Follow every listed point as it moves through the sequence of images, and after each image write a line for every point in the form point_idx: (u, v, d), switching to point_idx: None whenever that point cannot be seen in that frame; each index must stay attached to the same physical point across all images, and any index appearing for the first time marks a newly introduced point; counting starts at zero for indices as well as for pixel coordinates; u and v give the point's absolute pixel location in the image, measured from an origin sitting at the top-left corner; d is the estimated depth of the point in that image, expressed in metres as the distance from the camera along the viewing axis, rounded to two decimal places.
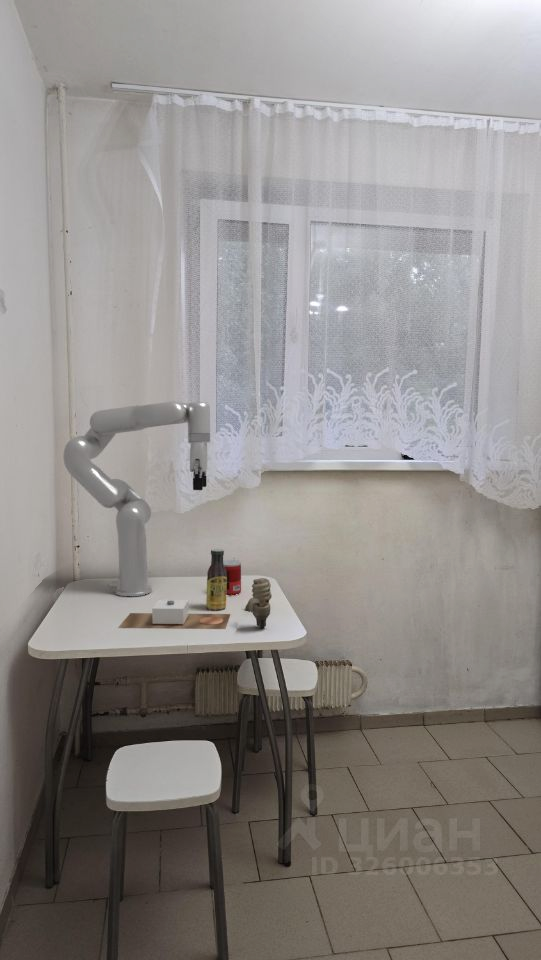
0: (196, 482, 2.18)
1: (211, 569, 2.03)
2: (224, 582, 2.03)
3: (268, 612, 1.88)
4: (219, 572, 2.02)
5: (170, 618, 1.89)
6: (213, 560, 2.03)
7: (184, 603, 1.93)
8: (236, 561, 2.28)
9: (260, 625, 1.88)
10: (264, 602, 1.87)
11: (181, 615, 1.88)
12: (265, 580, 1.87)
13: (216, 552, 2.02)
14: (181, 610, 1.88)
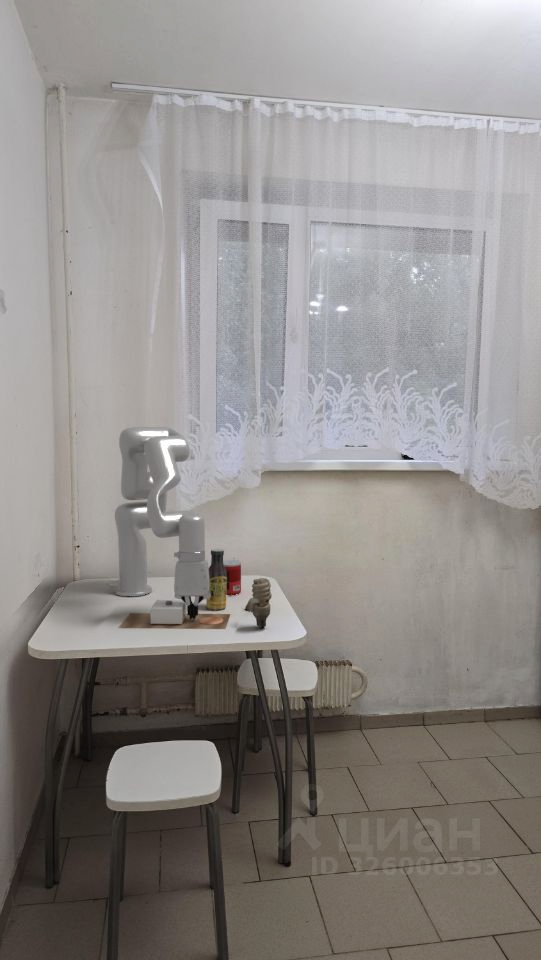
0: (197, 609, 1.92)
1: (211, 569, 2.03)
2: (224, 582, 2.03)
3: (268, 612, 1.88)
4: (219, 572, 2.02)
5: (168, 618, 1.89)
6: (213, 560, 2.03)
7: (182, 603, 1.93)
8: (236, 561, 2.28)
9: (260, 625, 1.88)
10: (264, 602, 1.87)
11: (179, 615, 1.88)
12: (265, 580, 1.87)
13: (216, 552, 2.02)
14: (179, 610, 1.88)
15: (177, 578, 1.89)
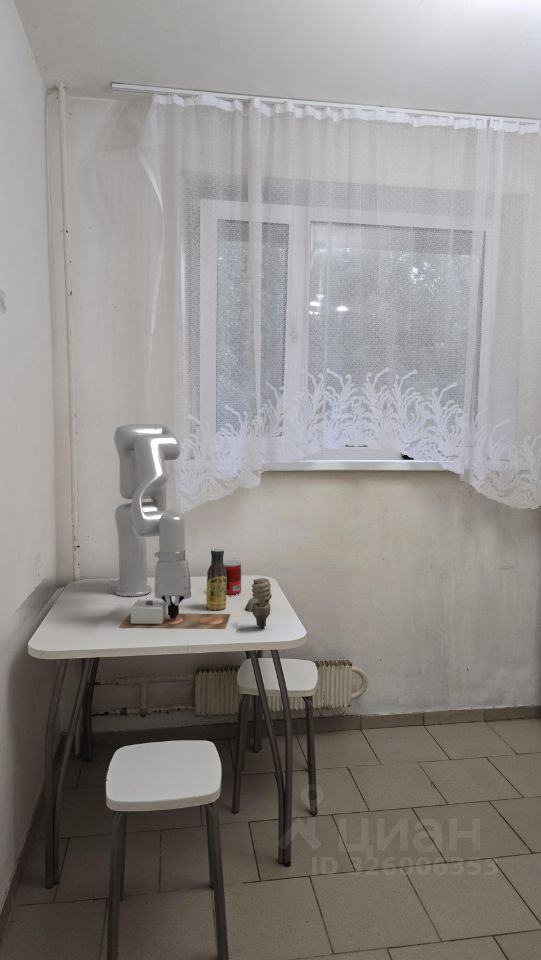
0: (178, 608, 1.93)
1: (211, 569, 2.03)
2: (224, 582, 2.03)
3: (268, 612, 1.88)
4: (219, 572, 2.02)
5: (148, 618, 1.89)
6: (213, 560, 2.03)
7: (163, 603, 1.94)
8: (236, 561, 2.28)
9: (260, 625, 1.88)
10: (264, 602, 1.87)
11: (159, 615, 1.89)
12: (265, 580, 1.87)
13: (216, 552, 2.02)
14: (159, 610, 1.88)
15: (157, 578, 1.89)
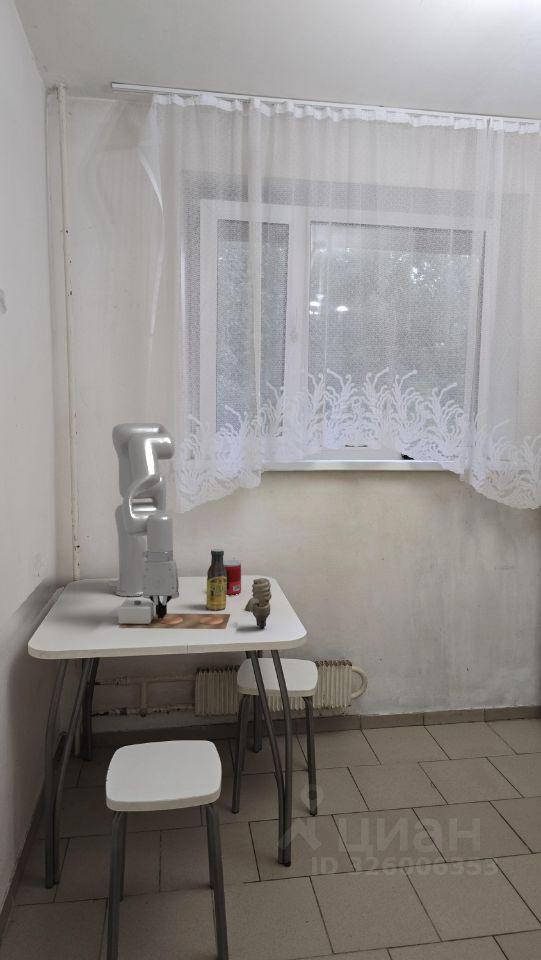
0: (165, 608, 1.93)
1: (211, 569, 2.03)
2: (224, 582, 2.03)
3: (268, 612, 1.88)
4: (219, 572, 2.02)
5: (136, 618, 1.89)
6: (213, 560, 2.03)
7: (151, 603, 1.94)
8: (236, 561, 2.28)
9: (260, 625, 1.88)
10: (264, 602, 1.87)
11: (147, 615, 1.89)
12: (265, 580, 1.87)
13: (216, 552, 2.02)
14: (147, 610, 1.89)
15: (145, 578, 1.90)
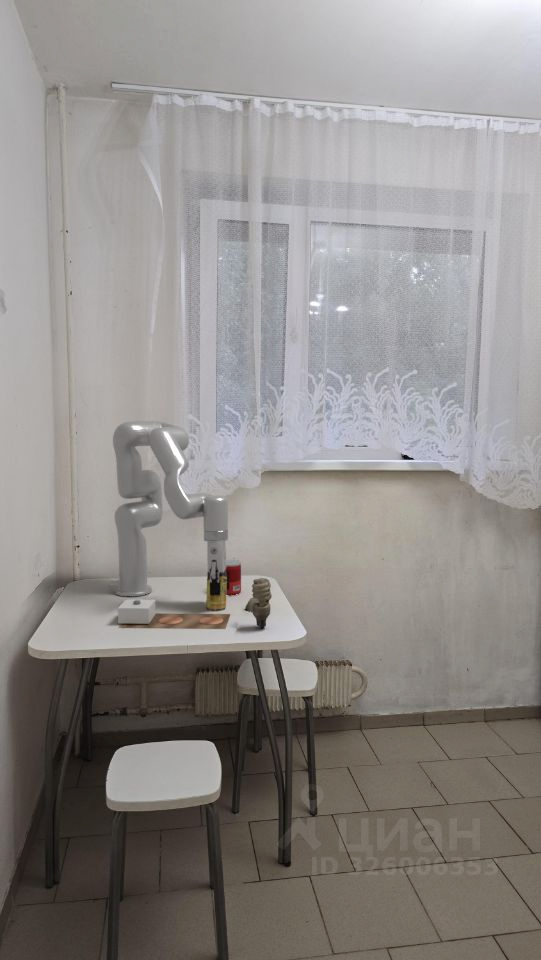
0: None
1: None
2: (224, 582, 2.03)
3: (268, 612, 1.88)
4: None
5: (136, 618, 1.89)
6: None
7: (150, 603, 1.94)
8: (236, 561, 2.28)
9: (260, 625, 1.88)
10: (264, 602, 1.87)
11: (147, 615, 1.89)
12: (265, 580, 1.87)
13: None
14: (146, 610, 1.89)
15: (222, 556, 2.00)
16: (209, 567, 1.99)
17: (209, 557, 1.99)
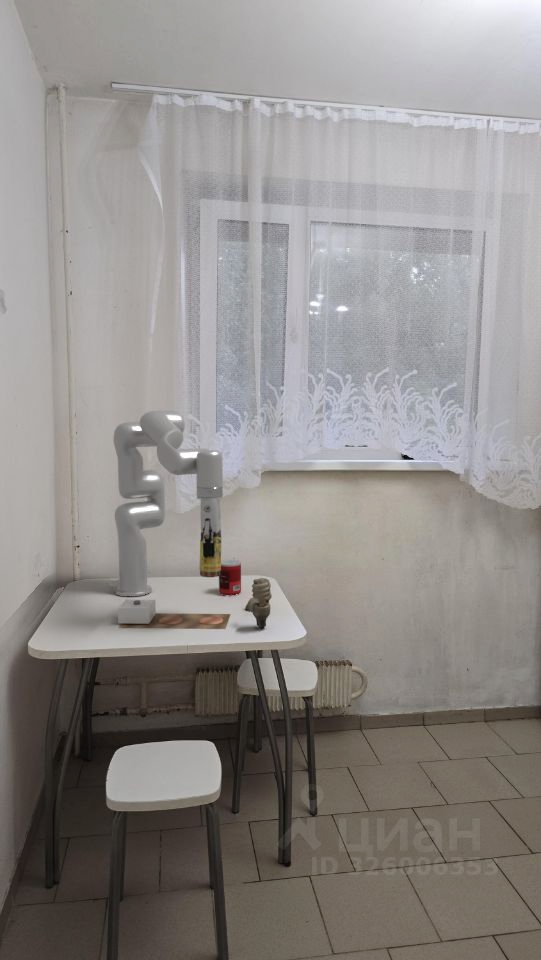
0: None
1: None
2: (219, 543, 1.89)
3: (268, 612, 1.88)
4: None
5: (136, 618, 1.89)
6: None
7: (150, 603, 1.94)
8: (236, 561, 2.28)
9: (260, 625, 1.88)
10: (264, 602, 1.87)
11: (147, 615, 1.89)
12: (265, 580, 1.87)
13: None
14: (146, 610, 1.89)
15: (217, 515, 1.86)
16: (202, 526, 1.85)
17: (202, 515, 1.85)
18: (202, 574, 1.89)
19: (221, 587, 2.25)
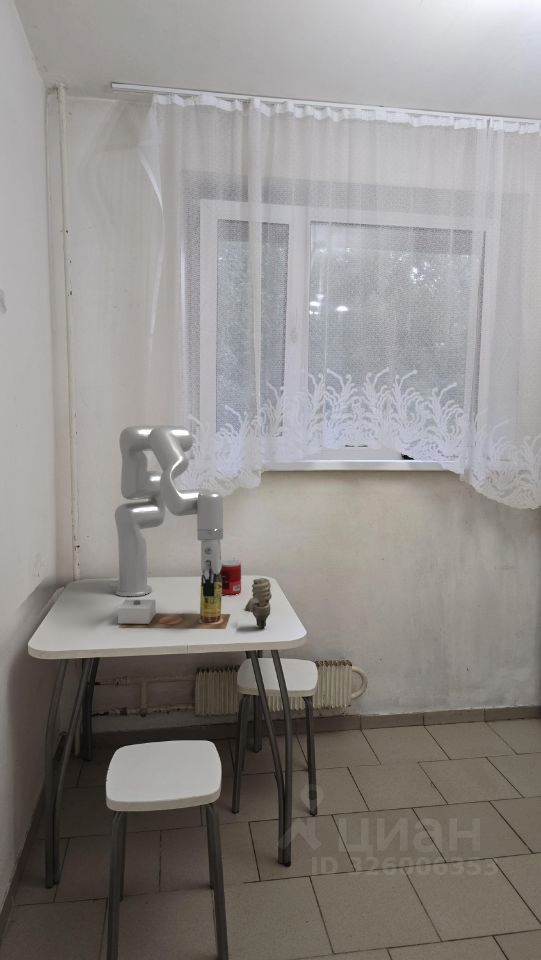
0: None
1: None
2: (219, 588, 1.91)
3: (268, 612, 1.88)
4: (214, 578, 1.89)
5: (136, 618, 1.89)
6: None
7: (150, 603, 1.94)
8: (236, 561, 2.28)
9: (260, 625, 1.88)
10: (264, 602, 1.87)
11: (147, 615, 1.89)
12: (265, 580, 1.87)
13: None
14: (146, 610, 1.89)
15: (217, 557, 1.87)
16: (203, 565, 1.86)
17: (203, 557, 1.86)
18: (202, 619, 1.91)
19: None
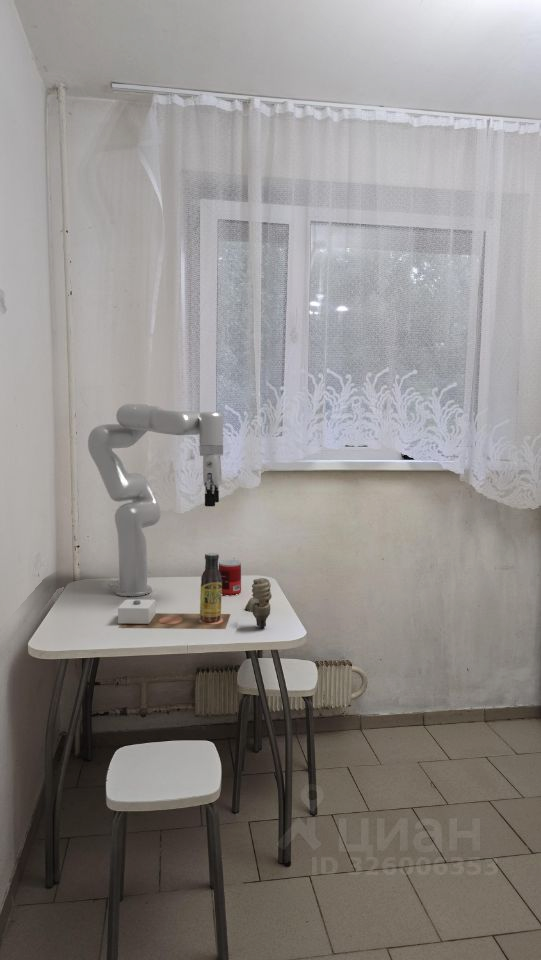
0: None
1: (205, 575, 1.90)
2: (219, 588, 1.91)
3: (268, 612, 1.88)
4: (214, 578, 1.89)
5: (136, 618, 1.89)
6: (207, 565, 1.90)
7: (150, 603, 1.94)
8: (236, 561, 2.28)
9: (260, 625, 1.88)
10: (264, 602, 1.87)
11: (147, 615, 1.89)
12: (265, 580, 1.87)
13: (210, 556, 1.90)
14: (146, 610, 1.89)
15: (218, 470, 2.04)
16: (204, 477, 2.04)
17: (205, 470, 2.04)
18: (202, 619, 1.91)
19: None
